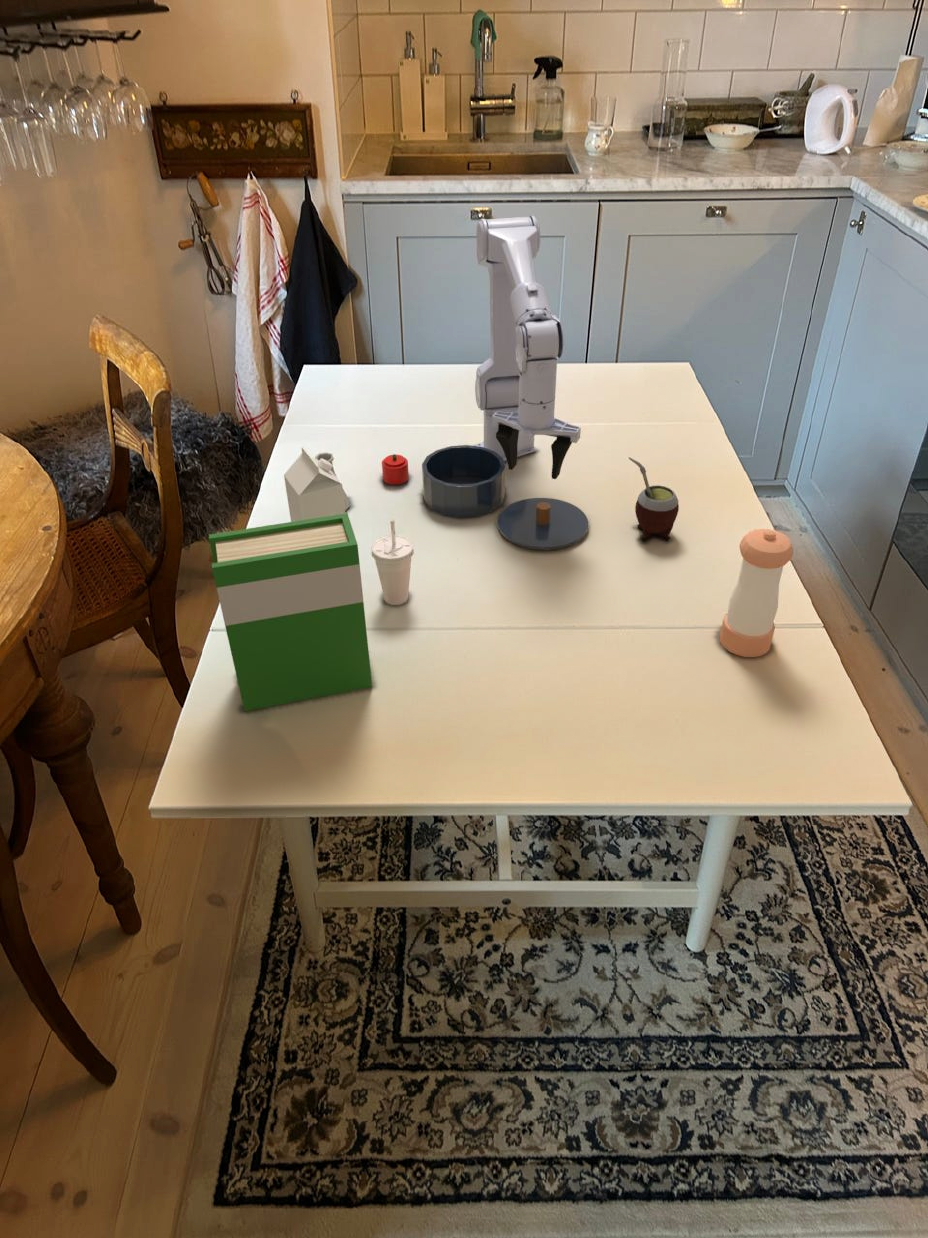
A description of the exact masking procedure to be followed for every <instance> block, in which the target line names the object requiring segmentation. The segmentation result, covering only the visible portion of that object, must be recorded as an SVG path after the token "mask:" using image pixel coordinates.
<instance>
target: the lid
mask: <svg viewBox="0 0 928 1238" xmlns="http://www.w3.org/2000/svg"><path fill="white" fill-rule="evenodd" d="M497 529H498V531H499V532H500V534H501V535H502V536H503V537H504V538H505V539H507V540H508V541H509V542H511V543H514V544H515V545H518V546H519V547H520V546H521V547H525V548H528V549H532V550H555V549H556V550H557V549H561V548H565V547H569V546H572V545H574V544H576V543H578V542H580V540H582V539H583V538H584V537H585V536H586V534H587V532H588V530H589V519H588V517H587V514H585V512H584V511H583V510H582V509H581V508H579V507H578V506H576V505H574V504H573V503H570V502H568V501H566V500H565V501H564V500H562V499H557V498H552V497H531V498H526V499H521V500H518V501H515V502H513V503H511V504H509V505H507V506H505V507H504V508H503V509H502V510H501V512H499V515H498V517H497Z"/></svg>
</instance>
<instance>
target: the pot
mask: <svg viewBox="0 0 928 1238" xmlns="http://www.w3.org/2000/svg"><path fill="white" fill-rule="evenodd" d="M506 470H507V469H506V463H505V461H504V460H503V458H502V457H501V456H500V455H498V454H497V453H496V452H495V451H492V450H489V449H487V448H484V447H479V446H475V445H469V444H462V445H450V446H446V447H443V448H440V449H439V448H438V449H436V450H434V451H433V452H431V453H430V454H428V455H426V457H425V458H424V460H423V462H422V464H421V474H422V475H421V476H422V493H423V500H424V503H425V504H426V506H427V507H428V508H429V509H431V510H432V511H434V512H436V513H438V514H440V515H443V516H447V517H452V518H474V517H475V518H476V517H479V516H483V515H487V514H489V513H491V512H493V511H495V510H496V509H498V508H499V507H500V506H501V505H502V504H503V502H504V499H505V496H506Z"/></svg>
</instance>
